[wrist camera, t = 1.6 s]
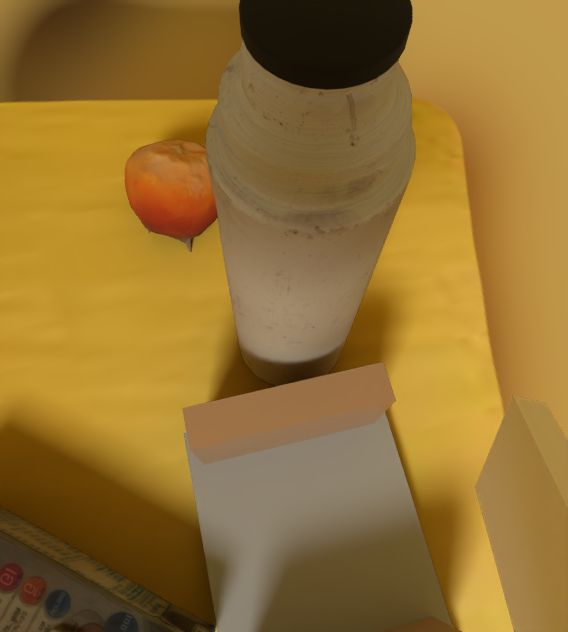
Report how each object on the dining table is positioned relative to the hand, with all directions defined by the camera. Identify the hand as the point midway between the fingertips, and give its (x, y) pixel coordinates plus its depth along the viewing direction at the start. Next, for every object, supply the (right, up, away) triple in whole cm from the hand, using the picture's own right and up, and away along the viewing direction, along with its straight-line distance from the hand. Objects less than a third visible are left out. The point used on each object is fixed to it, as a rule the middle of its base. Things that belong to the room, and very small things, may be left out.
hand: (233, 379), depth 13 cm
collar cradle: (+3, -13, +22) cm, 26 cm away
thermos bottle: (+2, 0, +28) cm, 28 cm away
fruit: (-7, +10, +32) cm, 34 cm away
